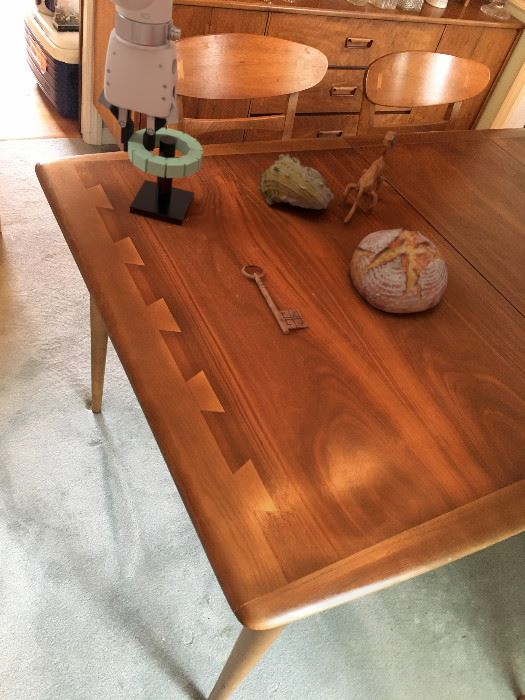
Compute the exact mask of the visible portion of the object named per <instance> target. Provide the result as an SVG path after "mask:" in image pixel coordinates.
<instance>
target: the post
mask: <svg viewBox="0 0 525 700" xmlns="http://www.w3.org/2000/svg"><path fill="white" fill-rule="evenodd" d="M176 151H177V149H176V139H175V138H173V137H171V136H162V137H160V142H159V146H158V156H161V157H164V158H176ZM173 180H174V178H166V176H165V177H164V178H163V177H159V176H156V181H151V180H148V179H144V181H143V183H142V184H141V186H140V188H139V190H138V192H137V194H136V195H135V197H134V198H133V200H132V201H131V204H130V205H129V213H130V214H134V215H138V216H143V217H145V218H150V219H154V220H158V221H161V222H165V223H169V224H174V225H176V226H182V225H183V223H184V221H185V220H186V217H187V214H188V212H189V210H190V207H191V205H192V203H193V201H194V199H195V192H194V191H190V190H187V189H182V188H178V187H174V186H173Z"/></svg>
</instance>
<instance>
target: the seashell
mask: <svg viewBox="0 0 525 700" xmlns="http://www.w3.org/2000/svg"><path fill="white" fill-rule="evenodd" d="M258 176H259V177H260V184H259V187H258V191H261V193H262V197H264V199H265V201H266V203H267V205H268V206H272V205H273V204H275V203H284V204H285V203H289V204H290V205H291V206H293V207H295V206H297V207H299V208H304V209H311V210H317V211H318V210H322V209H325V210H327V207H328V205H330V202H331V201H333V200H334V198H335V196H334V194H333V192H332V191H331V189H330V188H328V187H327V186H326V179H324V177H323V176H322V175H321V173H320V172H319V171H318V170H317V169H314V168H312V167H311V166H303V165H301V160H300V159H299V158H298V157H294V156H293V157H292V158H291V155H290V154H289V153H287V154H286V155H285V154H283V153H281V154H279V155H278V160H274V162H273V163H271V164H270V166H269V167H267V168H263V170H262V173H260V174H259V175H258Z"/></svg>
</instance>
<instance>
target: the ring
mask: <svg viewBox="0 0 525 700" xmlns="http://www.w3.org/2000/svg"><path fill="white" fill-rule="evenodd" d="M146 128H147V127H145V128H143V129H139V130H136V131H134V133H133V135H132V136H131V137H130V139H129V142H128V152H127V155H128V157H129V160H130V163H131V164H132V165H133V166H135V167H136V168H137V169H139V170H140V171H142V172H144V173H147V174H148V175H152V176H155V177H157V176H159V177H163V178H164V177H165V176H166V178H173V179H179V178H180V179H183V178H187V177H189V176H192V175H194V174H197V173H198V172H199V170H200V169H201V166H202V164H203V158H204V149H203V147H202V145H201V143H200V142H199V141H198V139H196V138H194V137H192V136H191V135H189V134H188V133H186V132H185V133H184V131H180V130H177V129H174V128H173V129H172V128H169V127H168V128H166V127H163V128H161V129H160V130H158V131H156V138H155V147H159V142H160V137H162V136H171V137H173V138H175V139H176V151H178V152H180V153H182V154H183V155H181V156H180V157H175V158H164V157H161V156H159V155H157V154H154V153H153V152H152V151H150V152H149V151H148V150H146V149H145V147H144V145H143V134H144V132H145V131H146Z"/></svg>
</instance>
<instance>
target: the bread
mask: <svg viewBox="0 0 525 700" xmlns="http://www.w3.org/2000/svg"><path fill="white" fill-rule="evenodd" d="M359 242H360V243H359V244H358V245H356V249H355V250H354V252H353V254H352V256H351V260H350V264H349V272H350V280H351V282H352V285H353V286H354V288H355V289H356V290H357V293H358V294H359V295H360V296H362V298H364V299H365V300H366V301H367V302H368V303H369V305H371V306H372V307H373V308H375V309H377V310H380V311H383V312H386V313H393V314H410V313H421V312H425V311H427V310H430V309H433V308H435V307H436V306H437V305H439V304H440V303H441V301H442V299H443V296H444V294H445V292H446V290H447V286H448V280H449V279H448V278H449V275H448V274H449V273H448V267H447V266H448V265H447V263H446V260H445V258H444V257H443V255H442V254H441V252H440V249H438V248H437V246H435V244H434V243H433V242H432V241H431V240H430V239H428V238H427V237H425V236H424V235H423V234H421V233H420V231H419V230H411V231H410V230H407V229H405V228H403V227H402V228H394V229H393V228H391V229H383V230H379V231H378V230H377V231H375V232H371V233H369V234H368V235H366V236H365V237H364V238H363V239H361V240H360V241H359Z"/></svg>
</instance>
